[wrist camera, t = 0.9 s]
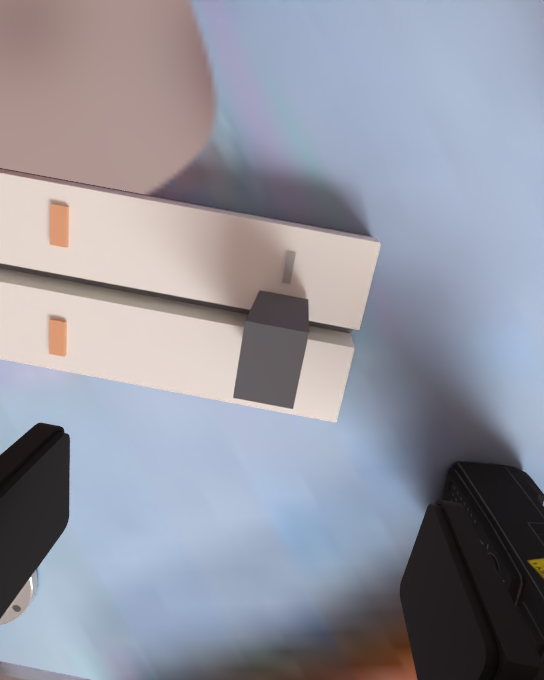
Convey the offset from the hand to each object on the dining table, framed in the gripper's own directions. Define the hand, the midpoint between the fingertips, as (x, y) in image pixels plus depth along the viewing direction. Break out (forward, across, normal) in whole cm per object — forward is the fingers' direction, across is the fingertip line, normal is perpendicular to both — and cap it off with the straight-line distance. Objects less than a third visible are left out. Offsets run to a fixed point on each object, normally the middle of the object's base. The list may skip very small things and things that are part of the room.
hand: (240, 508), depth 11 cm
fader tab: (+20, 0, +1) cm, 20 cm away
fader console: (+21, +8, 0) cm, 23 cm away
